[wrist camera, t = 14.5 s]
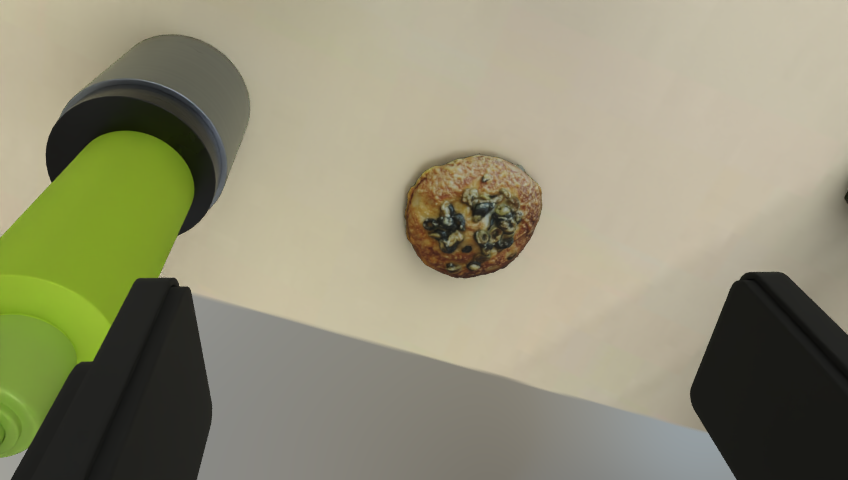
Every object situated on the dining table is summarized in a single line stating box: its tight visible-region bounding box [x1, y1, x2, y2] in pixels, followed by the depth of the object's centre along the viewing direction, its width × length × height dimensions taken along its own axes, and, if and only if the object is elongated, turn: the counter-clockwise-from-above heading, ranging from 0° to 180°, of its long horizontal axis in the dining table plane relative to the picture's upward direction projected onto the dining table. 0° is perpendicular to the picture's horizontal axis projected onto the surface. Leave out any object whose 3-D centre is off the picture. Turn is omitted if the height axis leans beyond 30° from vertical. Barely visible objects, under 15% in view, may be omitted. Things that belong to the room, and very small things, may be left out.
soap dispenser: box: [0, 131, 194, 458], centre depth 24 cm, size 6×7×20 cm
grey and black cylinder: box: [46, 35, 250, 236], centre depth 37 cm, size 9×9×12 cm
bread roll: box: [405, 154, 542, 278], centre depth 48 cm, size 11×11×5 cm
